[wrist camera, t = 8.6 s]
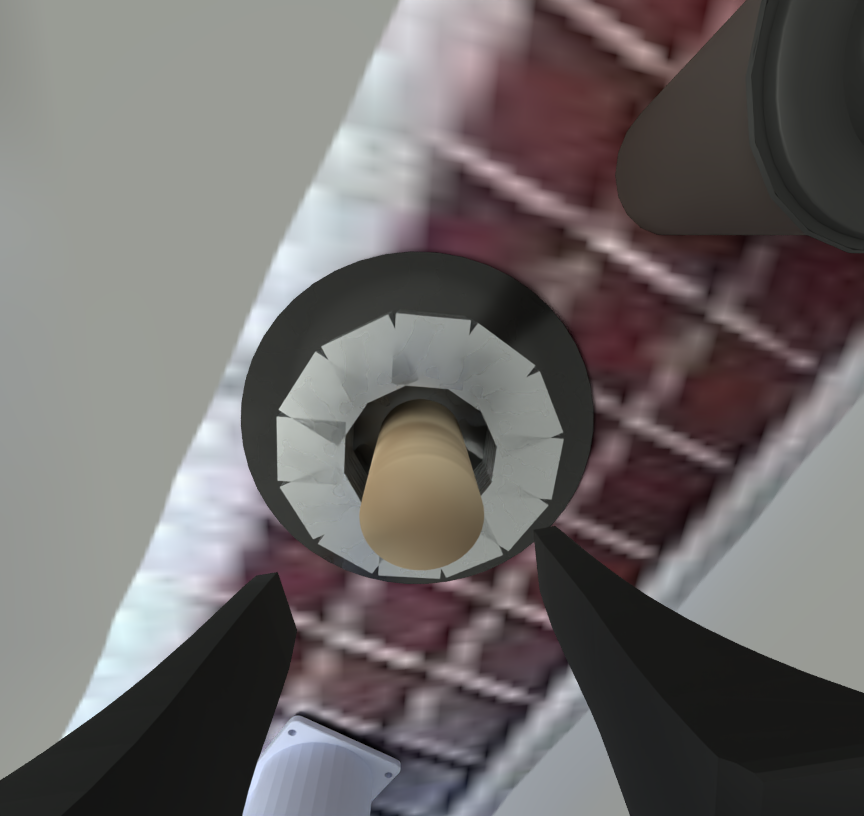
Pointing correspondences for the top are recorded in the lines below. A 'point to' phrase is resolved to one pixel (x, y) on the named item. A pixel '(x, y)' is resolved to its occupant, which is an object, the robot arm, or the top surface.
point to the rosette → (408, 380)
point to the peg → (421, 489)
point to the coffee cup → (758, 130)
